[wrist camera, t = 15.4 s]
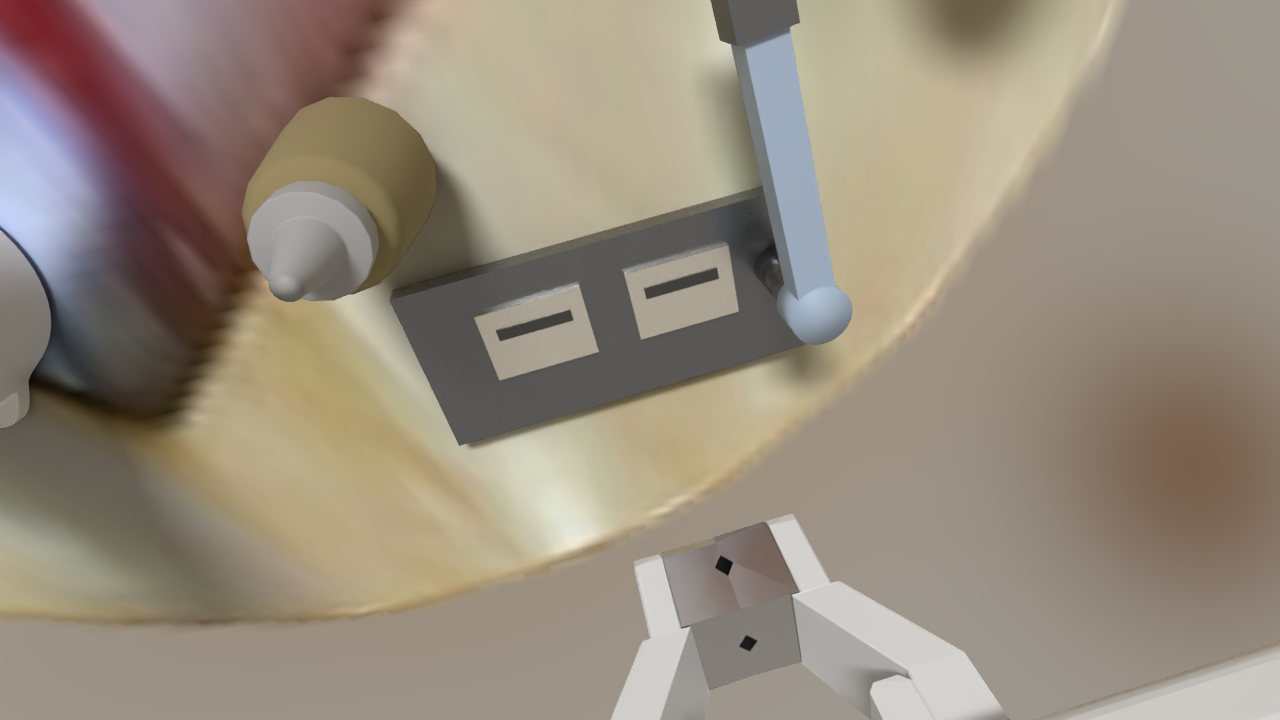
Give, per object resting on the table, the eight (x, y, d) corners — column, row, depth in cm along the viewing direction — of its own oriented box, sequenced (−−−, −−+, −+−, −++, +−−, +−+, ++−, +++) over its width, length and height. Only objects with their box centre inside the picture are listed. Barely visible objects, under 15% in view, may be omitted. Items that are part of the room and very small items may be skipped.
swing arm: (836, 311, 42) (856, 332, 39) (782, 331, 42) (799, 354, 39) (766, -78, 30) (789, -82, 28) (692, -49, 30) (709, -51, 28)
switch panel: (460, 433, 49) (455, 489, 44) (392, 290, 43) (378, 336, 38) (796, 335, 50) (831, 378, 45) (779, 181, 44) (818, 211, 39)
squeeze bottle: (450, 104, 38) (419, 197, 23) (434, 237, 42) (398, 396, 26) (294, 68, 36) (143, 145, 20) (291, 213, 39) (162, 370, 24)
